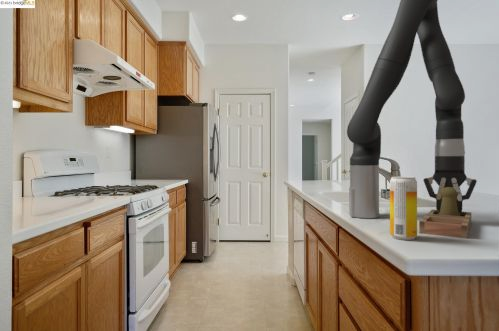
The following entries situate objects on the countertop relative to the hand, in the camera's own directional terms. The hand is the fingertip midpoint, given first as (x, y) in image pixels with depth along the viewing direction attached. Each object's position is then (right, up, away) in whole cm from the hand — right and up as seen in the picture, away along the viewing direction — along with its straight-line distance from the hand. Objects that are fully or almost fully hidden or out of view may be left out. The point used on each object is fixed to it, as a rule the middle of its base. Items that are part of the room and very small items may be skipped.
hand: (449, 212), depth 97 cm
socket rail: (-4, -3, -5) cm, 7 cm away
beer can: (-21, -4, -16) cm, 27 cm away
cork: (0, -3, 0) cm, 3 cm away
